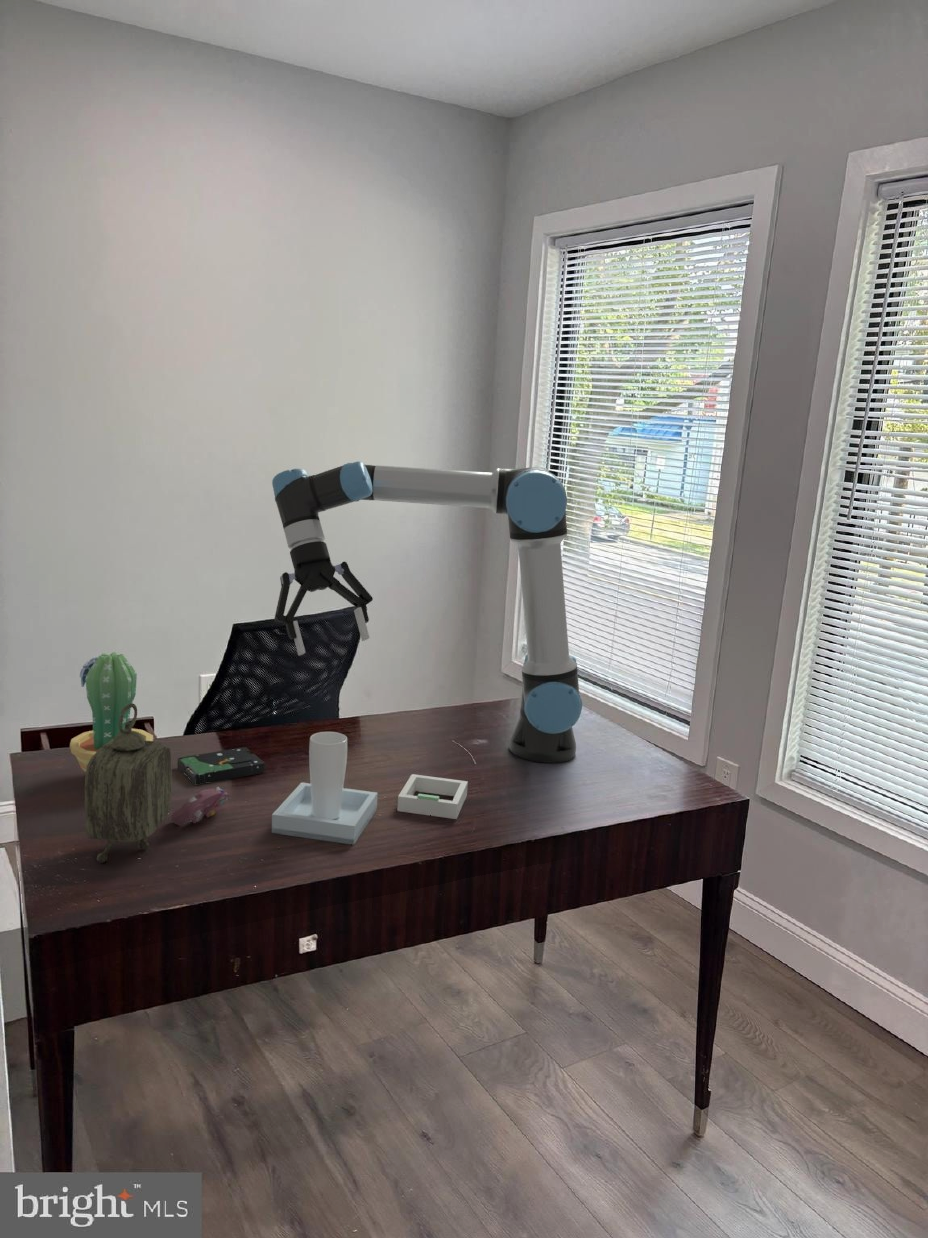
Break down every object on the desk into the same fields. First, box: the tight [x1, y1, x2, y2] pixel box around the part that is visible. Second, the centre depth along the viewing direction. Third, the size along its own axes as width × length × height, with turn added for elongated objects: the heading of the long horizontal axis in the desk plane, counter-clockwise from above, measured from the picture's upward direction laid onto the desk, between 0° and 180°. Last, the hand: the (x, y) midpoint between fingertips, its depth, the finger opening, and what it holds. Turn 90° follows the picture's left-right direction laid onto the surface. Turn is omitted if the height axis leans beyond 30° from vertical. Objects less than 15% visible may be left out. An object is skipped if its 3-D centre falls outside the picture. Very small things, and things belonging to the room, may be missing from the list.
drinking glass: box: [308, 731, 348, 820], centre depth 167 cm, size 7×7×15 cm
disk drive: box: [177, 746, 266, 785], centre depth 188 cm, size 10×3×15 cm
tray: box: [271, 782, 379, 846], centre depth 168 cm, size 15×15×4 cm
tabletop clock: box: [84, 702, 172, 864], centre depth 151 cm, size 14×9×25 cm, turn 178°
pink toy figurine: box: [170, 786, 230, 825], centre depth 165 cm, size 10×5×7 cm, turn 149°
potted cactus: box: [69, 652, 154, 774], centre depth 177 cm, size 15×15×25 cm
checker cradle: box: [396, 773, 469, 820], centre depth 179 cm, size 11×11×4 cm
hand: (334, 646), depth 184 cm, fingers open, 13 cm apart
